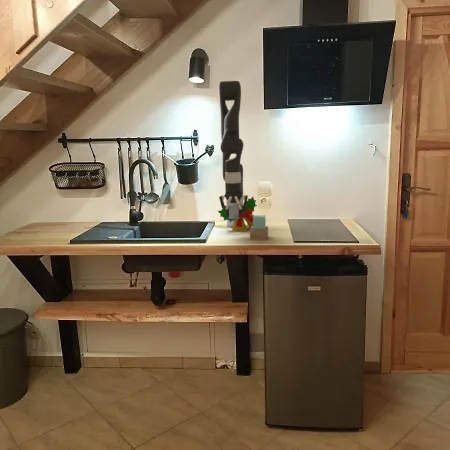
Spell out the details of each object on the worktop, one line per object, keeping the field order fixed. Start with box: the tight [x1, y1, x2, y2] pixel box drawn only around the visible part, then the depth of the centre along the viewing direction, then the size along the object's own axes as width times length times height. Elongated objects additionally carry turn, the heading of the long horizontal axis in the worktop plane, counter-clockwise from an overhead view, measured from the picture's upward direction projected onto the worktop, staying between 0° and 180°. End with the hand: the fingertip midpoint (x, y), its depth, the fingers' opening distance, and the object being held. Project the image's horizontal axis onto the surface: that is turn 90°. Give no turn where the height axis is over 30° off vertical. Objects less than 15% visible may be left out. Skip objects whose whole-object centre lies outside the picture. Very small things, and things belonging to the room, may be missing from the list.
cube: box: [253, 214, 267, 229], centre depth 208 cm, size 6×6×6 cm
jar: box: [228, 205, 240, 219], centre depth 213 cm, size 5×5×6 cm
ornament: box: [217, 196, 258, 232], centre depth 228 cm, size 21×8×15 cm, turn 96°
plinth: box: [249, 225, 269, 241], centre depth 209 cm, size 8×8×5 cm
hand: (234, 216), depth 214 cm, fingers closed on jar, 5 cm apart
